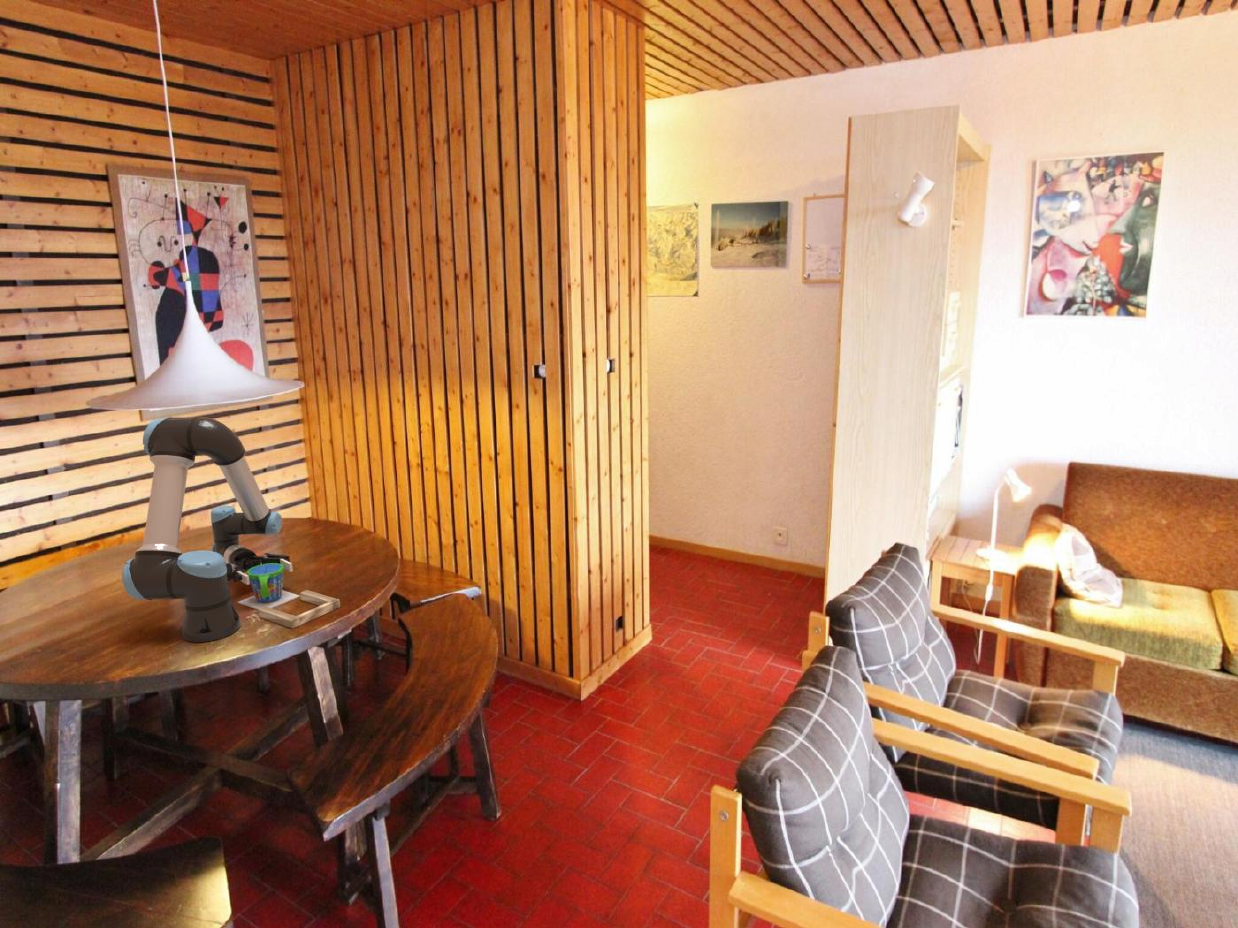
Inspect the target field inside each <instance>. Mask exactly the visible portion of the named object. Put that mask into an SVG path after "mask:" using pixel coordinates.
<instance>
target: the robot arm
mask: <svg viewBox="0 0 1238 928" xmlns="http://www.w3.org/2000/svg"><path fill="white" fill-rule="evenodd" d="M142 445H143V449H144V452H145V454H147V455H148V456H149V461H150V462H151V463H152V464H153V465H154V466H153V467H154V468H153V473H152V481H151V482H152V483H151V489H150V495H149V501H148V502H149V503H148V508H147V515H146V522H145V528H144V536H143V543H142V546H140V547H139V548H138V549H136V550H135V554H134V557H133V558H131V559H128V560H127V561H126V562H125V564H124V565H123V568H122V573H121V580H122V581H121V582H122V585H123V587H124V590H125V591H126V594H128V595H129V596H130V597H131V598H132V599H135V600H145V601H153V600H183V604H184V616H183V620H182V625H181V636H182V639H183V640H185V641H187V642H190V643H204V642H205V643H206V642H211V641H212V642H213V641H215V640H220V639H223V638H226V637H229V636H230V635H233V634H234V633H235V632H237V631H238V630H240V628H241V626H242V623H241V617H240V615H239V613H238V612H237V610H236V608H235V607H234V606H235V605H233V603H232V601H231V596H230V595H231V593H230V585H229V582H230V581H231V580H232V581H233V582H234V583H237V582H242V583H243V584H244V585H247V586H248V585H251V582H250V579H249V576H248V575H247V571H248V570H249V569H250V568H252V567H255V566H258V565H262V564H268V563H278V564H281V565H283V567H284V570H286V571H287V572H290V573H291V572H293V564H292V562H291V558H290V555H284V554H275V553H274V554H273V553H269V552H265V553H264V555H262V556H261V555H257V554H256V553H255V552H254V551H253V550H251V549H249V548H247V547H246V546H243V545H241V544H240V536H246V535H247V536H249V535H250V536H253V535H254V536H255V535H257V536H260V535H265V536H267V535H276V534H278V533H279V532H280V531H281V529H282V526H283V517H282V515H281V513H279V512H278V511H277V512H276V511H271V510H270V509H269V507H268V504H267V502H266V501H265V498H264V495H263V494H262V491H261V490H260V487H259V485H258V482H257V481H256V479H255V476H254V475H253V472H252V470H251V467H250V466H249V464H248V462H247V460H246V457H245V456H246V449H245V446H244V444H243V442H242V441H241V439H240V438H239V436H237V435H236V433H235V432H234V431H233V430H232V429H231V428H230V427H228V426H227V425H226V424H224V423H222V422H221V421H219V420H217V419H215V418H211V417H207V416H199V417H197V416H195V417H173V416H172V417H171V416H170V417H169V416H167V417H164V418H156V419H154V420H153V421H151V422H149V423H148V424H147V426H146V428H145V430H144V433H143V435H142ZM203 456H205V457H207V458H210V459H211V461H212V462H213V464H214V465H216V466H218V467H219V468H220V470H221V472H222V475H223V476H224V479H225V481H226V482H227V484H228V486H229V487H230V489H231V490H230V491H232V492H231V493H232V494H233V496H234V498H235V499H236V501H237V504H238V506H239V508H240V510H241V511H242V512H237V510H236V508H235V507H234V506H233V505H222V506H221V505H220V506H217V507H215V508H213V509H212V510H211V511H210V521H211V522H210V524H211V528H212V534H213V535H212V536H213V543H212V545H211V548H210V550H203V549H202V550H195V551H194V550H193V551H191V550H190V551H188V552H184V553H183V552H182V551H181V550H180V549H179V548H178V546H179V545H178V544H179V538H180V537H179V536H180V530H181V523H182V516H183V515H182V514H183V506H184V500H185V493H186V485H187V477H188V471H189V468H191V467H193V466H194V465H195V463H196V462H195V461H196V457H203Z"/></svg>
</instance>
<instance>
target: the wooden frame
mask: <svg viewBox="0 0 1238 928" xmlns="http://www.w3.org/2000/svg"><path fill="white" fill-rule="evenodd" d="M299 594H300V600H301V601H303V602H307V603H309V604H313V605H315V606H316V607H315V608H312V609H309V610H307V611H305V612H302V613H300V614H298V615H293V614H289V613H287V612H284V611H281V610H278V609H274V608H269V607H264V608H261V609H259V610H258V614H259V618H261V619H264V620H267V621H269V622H272V623H275V624H278V625H281V626H283V627H287V628H290V629H295V628H298V627H299V626H302V625H304V624H307V623H308V622H311V621H313V620H315V619H317V618H319V617H322V616H323V615H326V614H329V613H330V612H333V611H335V610H337V609H340V608H341V602H340V599H339V598H334V597H331V596H328V595H324V594H321V593H319V592H315V591H311V590H308V589H306V590H303V591H301V592H300V593H299Z"/></svg>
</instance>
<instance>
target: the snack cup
mask: <svg viewBox="0 0 1238 928" xmlns="http://www.w3.org/2000/svg"><path fill="white" fill-rule="evenodd" d="M284 570H285V569H284V567H283V565H281V564H278V563H268V564H262V563H261V564H260V565H258V566H255V567H252V568H250V569H249V570H248V571H247V572H246V575H248V576H249V582H250V585H251V588H252V591H253V594H254V595H255V597H256V600H257V601H258V602H271V601H275V600H277V599H280V597H281V596H282V590H283V577H284V576H283V575H284V574H283V573H284Z"/></svg>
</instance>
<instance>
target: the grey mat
mask: <svg viewBox="0 0 1238 928" xmlns="http://www.w3.org/2000/svg"><path fill="white" fill-rule="evenodd" d="M298 598H301V595H299V594H296V593H292V592H290V591H286V590H283V589H282V596H281V597H280V599H277V600H275V601H271V602H258V601H257V600H256V597H255V594H254V595H252V596H249V597H247V598H243V599H241V600H240V601H237V604H240V605H242V606H246V607H247V608H248V607H249V608H251V609H255V610H256V611H259V609H261V608H264V607H269V608H272V609H274V608H276V607H279V606H281V605H283V604H286V603H288V602H291V601H293V600H296V599H298Z"/></svg>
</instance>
